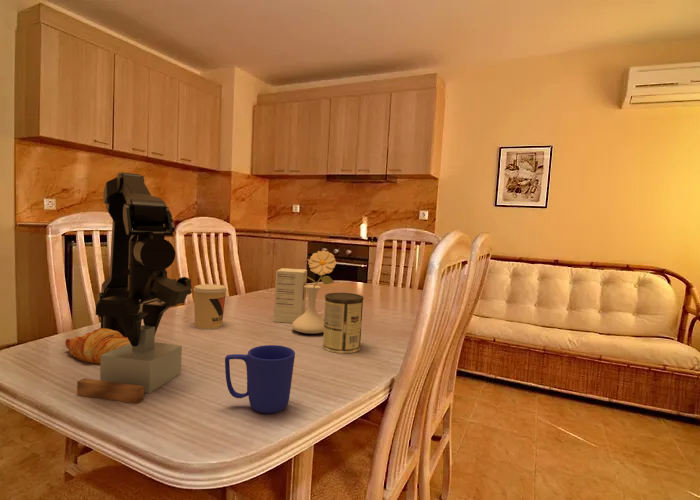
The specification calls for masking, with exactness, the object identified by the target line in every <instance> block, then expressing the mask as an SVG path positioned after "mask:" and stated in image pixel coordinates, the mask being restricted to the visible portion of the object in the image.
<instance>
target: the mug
mask: <svg viewBox="0 0 700 500" xmlns="http://www.w3.org/2000/svg"><path fill="white" fill-rule="evenodd" d="M295 357H296V352H295V350H293V348H290V347H288V346H284V345H276V344H275V345H274V344H269V345H259V346H255V347H252V348H250V349H249V350H248V352H247V354H243V353H241V354H239V353H238V354H237V353H236V354H235V353H234V354H233V353H232V354H227V355H225V358H224V367H225V368H224V369H225V371H224V372H225V380H226V385H227V386H226V388H227V390H228V392H229V394H230V395H231V397H233V398H235V399H243V398H245V397H248V400H249V401H248V402H249V405H250V407H251V408H252V410H254V411H256V412H257V413H260V414H275V413H279V412H282V411H283V410H284V409H286V407H287V406H288V404H289V400H290V395H291V390H292V389H291V388H292V381H293V371H294V364H295ZM231 360H240V361H241V360H242V361H243V362H245V366H246V392H245V393H244V392H243V393H239V392H237V391H236V390H235V388H234V387H233V383H232V380H231V372H230V371H231V369H230V366H231V365H230V361H231Z"/></svg>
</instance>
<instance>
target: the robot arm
mask: <svg viewBox="0 0 700 500" xmlns="http://www.w3.org/2000/svg"><path fill="white" fill-rule="evenodd" d="M102 197H103V198H102V201H103V204H105V209H106V211H107V213H108V214H109V216H110V218H111V219H112V221H111V222H112V225H111V242H110V244H111V245H110V258H109V274H108V275H107V277H106V278H105V280H103V282H102V284H101V289H100V292H98V294H97V297H96V298H97V299H96V303H95V313H94V314H95V316H97V317H98V318H100V328H103V329H111V330H114V331H118V332H120V333H121V334H122V335H123V337H127V338H128V340H129V341H130V343H131V345H132V346H138V344H139V338H140V330H141V326H142V321H143V325H144V326H153V327H155V335H156V333H157V331H158V328H159V326H160V323H161V320H162V317H163V316H164V313H165V312H166V311H168V310H169V309H170V308H172V307H177V305H180V304H182V305H183V304H184V303H186V299H187V296H188V295H191V294H192V292H193V291H192V280H191V278H188V277H187V276H182V277H179V278H178V279H176V278H173V279H171V278H169V277H168V271H167V269H168V268H169V267H171V265H172V264H173V263H174V261H175V258H176V251H175V247H174V246H173V244H172V243H171V242H170V241H168V239H167V240H166V239H165V237H172V236H174V233H175V229H176V227H175V223H174V219H173V216H172V213H171V211H170V208H169V206H167V204H166V202H165V200H163V199H162V198H160V197H158V196H155V195H154V196H153V195H152V194H151V191H150V190H149V188H148V186H147V185H146V183H145V177H144V175H141V174H140V173H131V172H120V173H119V172H117V176H116V177H114V178H112V179H110V180H108V181H106V182H105V185H104V189H103V193H102Z"/></svg>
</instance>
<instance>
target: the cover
mask: <svg viewBox="0 0 700 500" xmlns="http://www.w3.org/2000/svg"><path fill="white" fill-rule="evenodd" d="M155 336H156V334H155V327H153V326H144V324H141V330H140V338H139V344H138V346H132V345H131V343H130V344H127V345H125V346H122V347H120V348H117V349H115V350H112V351H110V352H107V353H105V354H103V355H101V364H100V365H99V366H100V372H99V373H100V374H99V375H100V377H99V380H101V381H109V382H116V383H124V384H131V385H139V386H144V394H151V393H152V392H155V390H157V389H159V388H160V387H162V386H163V385H165V384H167V383H168V382H170V381H171V380H173V379H175V378H176V377H178V376H179V375H181V374H182V351H183V350H182V348H183V345H182V344H181V345H180V344H172V343H164V342H155V339H156V337H155Z"/></svg>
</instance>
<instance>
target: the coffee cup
mask: <svg viewBox="0 0 700 500" xmlns="http://www.w3.org/2000/svg"><path fill="white" fill-rule="evenodd" d="M192 292H193V307H194V310H193V311H194V326H195V328H196V329H198V330H199V329H200V330H215V329H220V328H221V327H222V326H223V320H224V312H225V303H226V293H227V288H226V286H225V285H223V284H215V283H214V284H213V283H212V284H211V283H205V284H204V283H203V284H197V285H194V288H193V291H192Z"/></svg>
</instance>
